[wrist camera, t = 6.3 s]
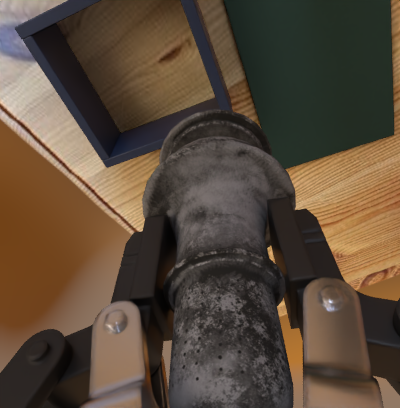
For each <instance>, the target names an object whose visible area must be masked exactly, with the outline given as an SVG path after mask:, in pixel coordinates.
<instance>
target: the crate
mask: <svg viewBox="0 0 400 408" xmlns="http://www.w3.org/2000/svg"><path fill="white" fill-rule="evenodd" d="M99 1H101V0H68V1H66V2H64V3H62V4H60V5H58V6H56V7H54V8H52V9H50V10H48V11H46V12H44V13H42V14H40V15H38V16H36V17H34V18H32V19H30V20H28V21H26V22H24V23H22V24H21V25H19V26H17V27H15V30H16V31H17V33H18V34H19V36H20V37H21V39H23V41H24V43H25V44H26V46H27V47H28V49H29V51H30V52H31V54H32V55H33V57H34V58H35V60H36V61H37V63H38V64H39V66H40V67H41V69H42V70H43V72H44V73H45V75H46V76H47V78H48V79H49V81H50V82H51V84H52V85H53V87H54V88H55V90H56V91H57V93H58V95H59V96H60V98H61V99H62V101H63V102H64V104H65V105H66V107H67V108H68V110H69V111H70V113H71V114H72V116H73V117H74V119H75V120H76V122H77V123H78V125H79V126H80V128H81V129H82V131H83V132H84V134H85V135H86V137H87V139H88V140H89V142H90V143H91V145H92V146H93V148H94V149H95V151H96V152H97V154H98V155H99V157H100V158H101V160H103V163H104V164H105V166H106V167H107V168H108V167H111V166H113V165H116V164H119V163H122V162H124V161H127V160H130V159H133V158H136V157H138V156H141V155H144V154H147V153H150V152H152V151H155V150H158V149H161V148H162V145H163V141H164V140H165V138H166V137H167V135H168V134H169V132H170V130H171V129H172V128H173V127H175V126H176V125H177V124H178V123H179V122H180V121H181V120H183V119H185V118H187V117H189V116H191V115H193V114H195V113H197V112H202V111H207V110H212V109H214V110H230V111H233V109H232V104H231V99H230V96H229V93H228V90H227V88H226V85H225V82H224V79H223V76H222V73H221V70H220V67H219V64H218V61H217V58H216V55H215V52H214V49H213V46H212V43H211V40H210V37H209V34H208V31H207V28H206V25H205V23H204V20H203V17H202V14H201V11H200V8H199V5H198V2H197V0H180V1H181V3H182V6H183V9H184V12H185V14H186V17H187V20H188V23H189V25H190V28H191V31H192V34H193V36H194V39H195V42H196V45H197V47H198V50H199V53H200V55H201V58H202V61H203V64H204V66H205V69H206V72H207V75H208V77H209V80H210V83H211V86H212V88H213V91H214V94H215V98H212V99H210V100H207V101H205V102H202V103H199V104H197V105H194V106H191V107H189V108H186V109H184V110H181V111H178V112H176V113H173V114H171V115H168V116H165V117H163V118H160V119H157V120H155V121H152V122H150V123H147V124H144V125H142V126H139V127H137V128H134V129H131V130H129V131H126V132H123V133H121V134H120V132H119V130H118V128H117V127H116V125H115V123H114V122H113V120H112V118H111V116H110V115H109V113H108V111H107V110H106V108H105V106H104V104H103V103H102V101H101V99H100V98H99V96H98V94H97V92H96V91H95V89H94V87H93V86H92V84H91V82H90V81H89V79H88V77H87V75H86V74H85V72H84V70H83V69H82V67H81V65H80V63H79V62H78V60H77V58H76V57H75V55H74V53H73V51H72V50H71V48H70V46H69V45H68V43H67V41H66V40H65V38H64V36H63V34H62V33H61V31H60V29H59V28H58V26H57V24H56V23H57V22H59V21H61V20H63V19H65V18H67V17H69V16H71V15H73V14H75V13H77V12H79V11H81V10H83V9H85V8H87V7H89V6H91V5H93V4H95V3H97V2H99Z"/></svg>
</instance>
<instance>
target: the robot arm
mask: <svg viewBox="0 0 400 408" xmlns="http://www.w3.org/2000/svg"><path fill="white" fill-rule="evenodd" d="M267 209H268V221H269V233H270V241H271V246H272V251H273V255H274V259H275V263H276V265H277V266H278V267H279V268H280V270H281V272H282V274H283V275H284V277H285V287H286V292H285V294H284V301H285V305H286V309H287V314H288V318H289V322H290V326H291V329H294V328H299V329H300V332H301V336H302V340H303V408H384V407H383V401H382V396H381V392H380V387H379V384H378V381H377V380H376V379H375V378H374V377H373V376H377V377H381V378H385V379H387V381H388V382H389V383H390V384H391V386H392V387H393V388H394V389H395V390H396V392H397V393H398V394H399V395H400V298H399V300H398V301H393V300H387V299H381V298H375V297H370V296H367V295H364V294H362V293H360V292H358V291H356V290H354V289H353V288H352V287H351V286H350V285H349V284H348V283H346V282H345V280H344V279H343V277H342V275H341V273H340V270H339V268H338V266H337V264H336V261H335V259H334V257H333V254H332V252H331V250H330V247H329V245H328V243H327V241H326V238H325V236H324V234H323V231H322V229H321V227H320V224H319V222H318V220H317V218H316V217H315V216H314V215H313V214H312V213H311V212H309V211H308V210H307V209H301V210H293V207H292V204H291V202H290V199H289V197H281V198H274V199H267ZM176 254H177V243H176V239H175V236H174V233H173V230H172V227H171V223H170V220H169V217H168V215H167V214H162V215H155V216H149V217H146V219H145V223H144V228H143V231H142V232H135V233H133V235H132V236H131V237H130V239H129V240H128V242H127V243H126V246H125V250H124V254H123V258H122V261H121V267H120V269H119V274H118V277H117V281H116V285H115V289H114V293H113V297H112V301H111V304H110V305H108V306H107V307H105V308H104V309H103V310H102V311H101V312H100V313H99V314H98V315H97V317H96V318H95V321H94V323H93V325H91V326H89V327H87V328H85V329H83V330H80V331H78V332H75V333H73V334H70V335H68V336H65V337H64V336H63V334H62V333H61V332H60V331H58V330H54V329H48V330H44V331H41V332H39V333H37V334H35V335H33V336H32V337H31V338H29V339H28V340H27V341H26V342H25V343H24V344H23V345H22V346H21V348H20V349H19V350H18V352H17V353H16V354H15V356H14V357H13V358H12V359H11V361H10V362H9V363H8V364H7V366H6V367H5V368H4V369H3V371H2V372H1V373H0V408H170V405H169V397H168V386H167V379H166V372H165V364H164V359H163V356H162V350H163V341H168V340H172V337H173V324H174V313H173V312H172V310H171V309H170V308H169V307H168V305H167V302H166V300H165V297H164V294H163V284H164V281H165V279H166V276H167V274H168V273H169V272H170V271H171V269H172V268H173V267H174V266H175V265H176Z"/></svg>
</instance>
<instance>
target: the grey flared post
mask: <svg viewBox="0 0 400 408" xmlns="http://www.w3.org/2000/svg"><path fill="white" fill-rule="evenodd" d="M281 197H289V199H290V202H291V204H292V207H293V210H295V207H296V201H295V189H294V186H293V184H292V181H291V179H290V176H289V174H288V172H287V171H286V170H285V169H284V168H283V167H282V165H281V164H280V163H279V162H278V161H277V160H276V159H275V158H274V157H272V148H271V146H270V143H269V141H268V138H267V136H266V134H265V133H264V132H263V130H262V129H261V128H260V127H259V126H258V125H257V123H255V122H254V121H252V120H251V119H249V118H248V117H246V116H245V115H242V114H239V113H236V112H233V111H230V110H214V109H212V110H207V111H202V112H197V113H195V114H193V115H191V116H189V117H187V118H185V119H183V120H181V121H180V122H179V123H178V124H177V125H176V126H175V127H173V128H172V129H171V130H170V132H169V134H168V135H167V137H166V138H165V140H164V141H163V145H162V148H161V152H160V165H158V166H157V168H156V169H155V171H154V172H153V174H152V175H151V177H150V178H149V180H148V181H147V184H146V187H145V191H144V195H143V198H142V202H143V215H144V218H145V219H146V217H149V216H155V215H162V214H167V215H168V217H169V220H170V223H171V227H172V230H173V233H174V236H175V239H176V243H177V254H176V265H175V266H174V267H173V268H172V269H171V271H170V272H169V273H168V274H167V276H166V279H165V281H164V284H163V294H164V297H165V300H166V302H167V305H168V307H169V308H170V309H171V310H172V312H173V313H174V324H173V337H172V350H171V364H170V376H169V389H168V397H169V405H170V408H293V382H292V377H291V372H290V368H289V363H288V358H287V353H286V349H285V344H284V339H283V334H282V329H281V325H280V320H279V315H278V310H277V306H278V305H279V304H280V303H281V301H282V300H283V297H284V294H285V292H286V287H285V277H284V275H283V274H282V272H281V270H280V268H279V267H278V266H277V265H276V264H275V263H274V262H273V261H272V260H270V259H269V255H268V250H267V248H268V247H270V246H271V241H270V233H269V221H268V209H267V199H274V198H281Z"/></svg>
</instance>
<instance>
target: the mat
mask: <svg viewBox="0 0 400 408" xmlns="http://www.w3.org/2000/svg"><path fill="white" fill-rule="evenodd" d="M224 3H225V7H226V10H227V13H228V17H229V20H230V23H231V27H232V30H233V34H234V37H235V40H236V44H237V47H238V50H239V54H240V57H241V61H242V64H243V67H244V71H245V74H246V78H247V81H248V84H249V88H250V91H251V94H252V98H253V101H254V105H255V108H256V111H257V115H258V118H259V122H260V125H261V128H262V130H263V132H264V133H265V134H266V136H267V138H268V141H269V143H270V146H271V148H272V157H274V158H275V159H276V160H277V161H278V162H279V163H280V164H281V165H282V167H283V168H284V169H287V168H290V167H293V166H297V165H300V164H303V163H306V162H309V161H312V160H316V159H319V158H322V157H325V156H328V155H332V154H335V153H338V152H341V151H344V150H347V149H351V148H354V147H357V146H360V145H363V144H367V143H370V142H373V141H376V140H379V139H383V138H386V137H389V136H392V135H394V105H393V70H392V36H391V1H390V0H224Z"/></svg>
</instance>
